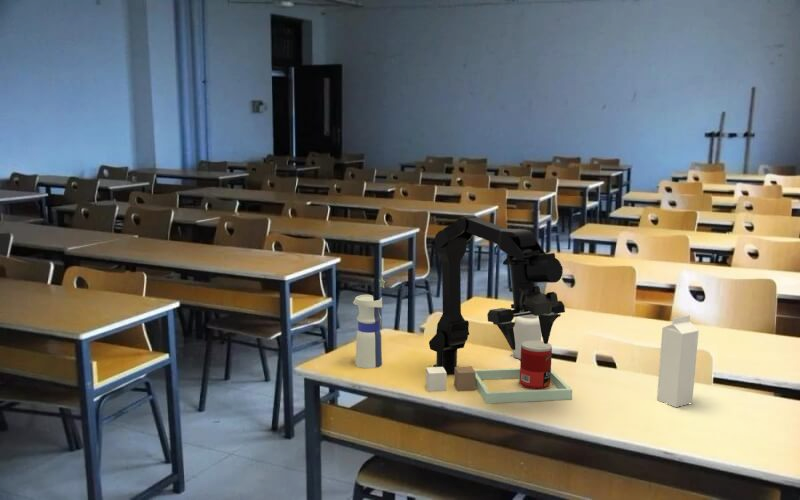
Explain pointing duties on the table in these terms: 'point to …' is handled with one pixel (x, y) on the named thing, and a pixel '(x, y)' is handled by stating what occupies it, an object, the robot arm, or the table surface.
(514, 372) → the mint green rectangular frame
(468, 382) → the brown carton
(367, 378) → the table surface
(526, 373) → the canned food
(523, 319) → the pill bottle
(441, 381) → the white block
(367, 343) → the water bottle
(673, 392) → the milk
